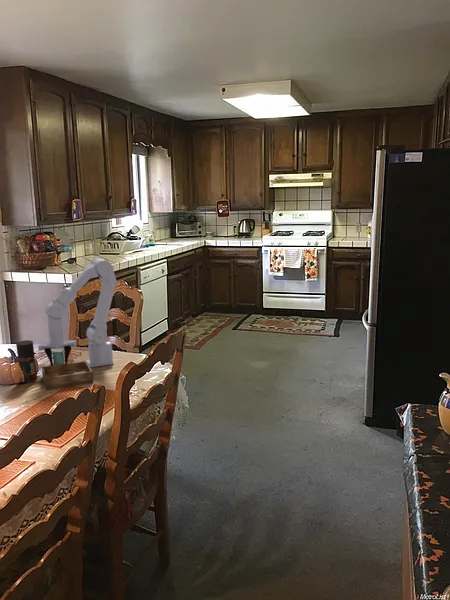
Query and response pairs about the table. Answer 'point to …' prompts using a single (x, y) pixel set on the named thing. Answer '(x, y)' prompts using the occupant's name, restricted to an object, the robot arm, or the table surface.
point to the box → (67, 375)
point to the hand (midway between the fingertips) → (59, 364)
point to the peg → (58, 357)
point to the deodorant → (27, 360)
